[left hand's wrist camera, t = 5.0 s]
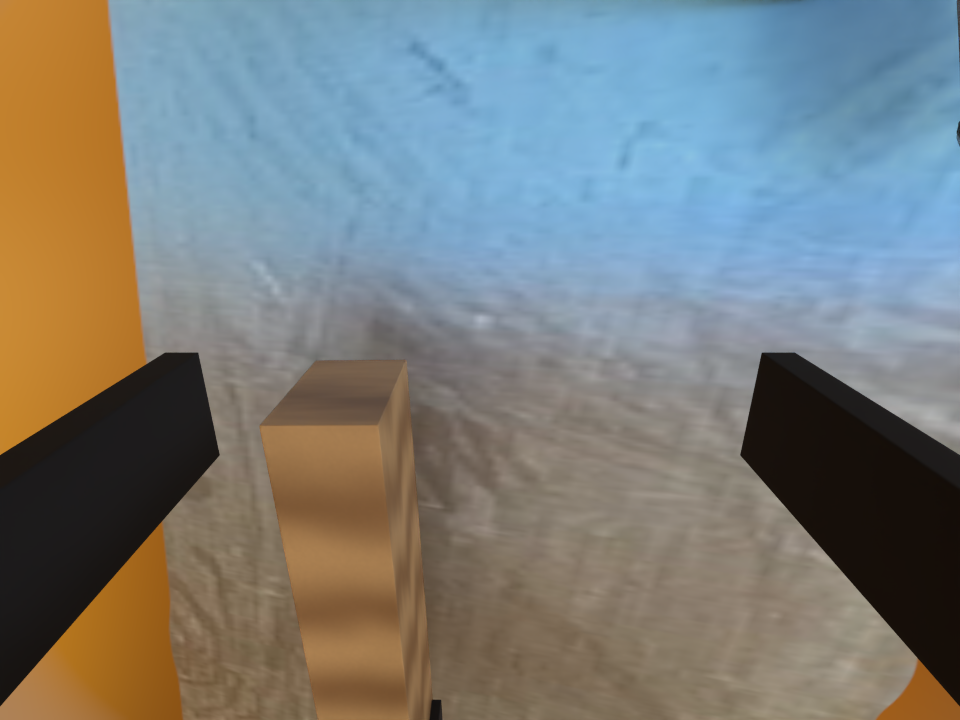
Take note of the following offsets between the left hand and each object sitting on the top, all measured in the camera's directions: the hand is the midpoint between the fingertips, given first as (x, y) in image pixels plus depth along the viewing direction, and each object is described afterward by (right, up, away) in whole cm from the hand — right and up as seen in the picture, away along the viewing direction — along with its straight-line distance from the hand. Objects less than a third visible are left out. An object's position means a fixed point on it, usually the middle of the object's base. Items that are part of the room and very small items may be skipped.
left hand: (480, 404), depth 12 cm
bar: (-7, -15, +25) cm, 30 cm away
